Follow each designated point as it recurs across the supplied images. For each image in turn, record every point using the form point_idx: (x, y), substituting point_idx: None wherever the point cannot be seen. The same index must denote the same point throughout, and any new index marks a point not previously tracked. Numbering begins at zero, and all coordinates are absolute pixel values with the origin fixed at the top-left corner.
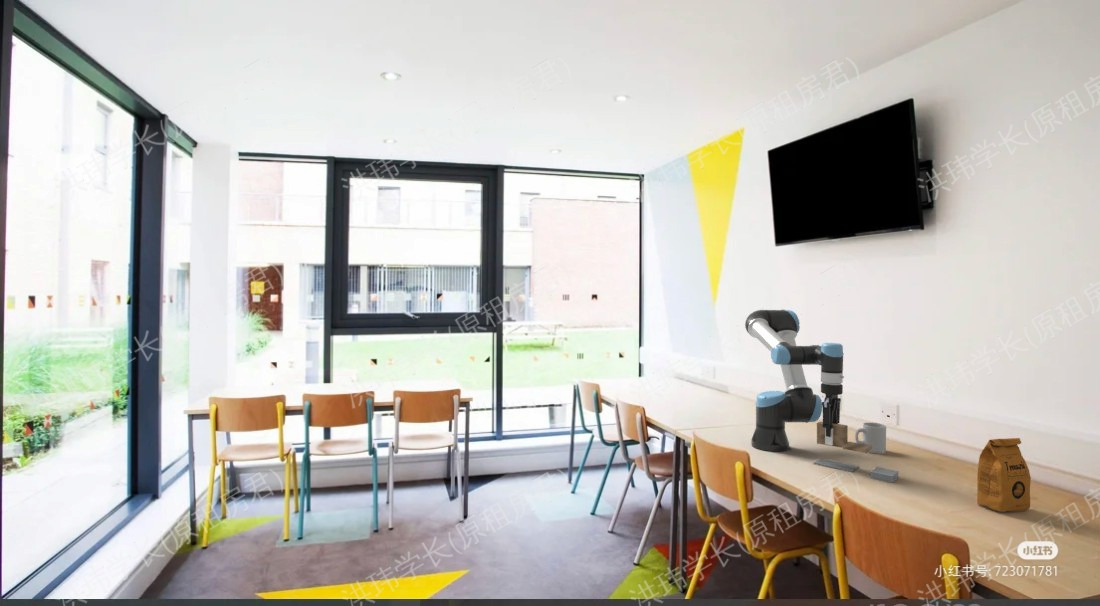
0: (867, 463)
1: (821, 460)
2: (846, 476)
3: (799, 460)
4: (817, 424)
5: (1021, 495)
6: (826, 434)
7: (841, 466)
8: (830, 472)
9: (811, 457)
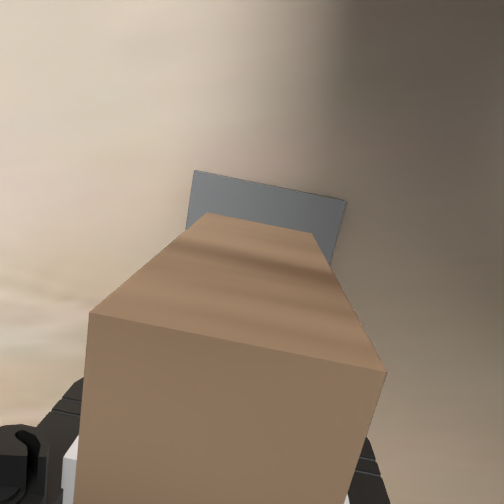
0: (403, 451)
1: (290, 214)
2: (64, 373)
3: (223, 60)
4: (104, 312)
5: None
6: (66, 398)
7: None
8: (77, 293)
9: (363, 129)
